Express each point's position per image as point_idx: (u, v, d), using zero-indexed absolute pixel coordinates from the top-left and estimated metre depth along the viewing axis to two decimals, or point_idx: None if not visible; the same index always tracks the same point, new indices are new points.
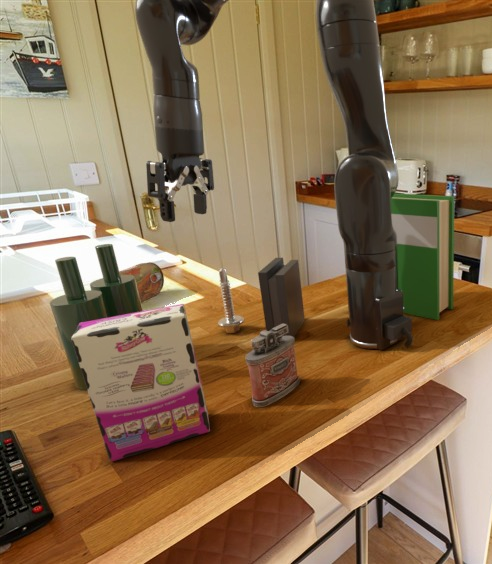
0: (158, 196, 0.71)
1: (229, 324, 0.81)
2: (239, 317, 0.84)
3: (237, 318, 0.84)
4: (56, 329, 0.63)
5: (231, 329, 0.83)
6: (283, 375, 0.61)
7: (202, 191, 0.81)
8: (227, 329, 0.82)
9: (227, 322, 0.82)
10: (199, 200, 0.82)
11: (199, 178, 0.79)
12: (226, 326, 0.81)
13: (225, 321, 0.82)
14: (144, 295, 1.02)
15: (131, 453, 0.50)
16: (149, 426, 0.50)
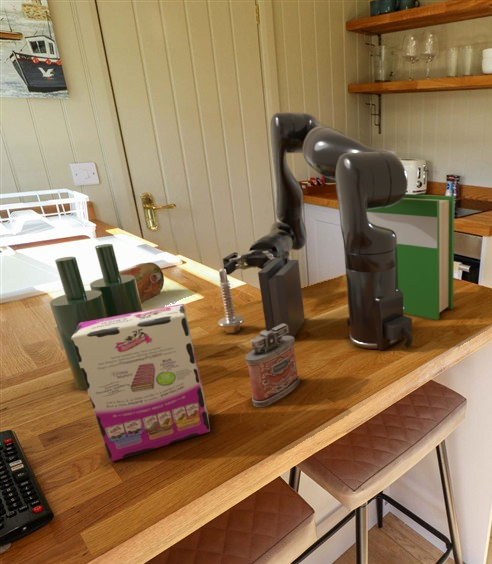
0: None
1: (229, 324, 0.81)
2: (239, 317, 0.84)
3: (237, 318, 0.84)
4: (56, 329, 0.63)
5: (231, 329, 0.83)
6: (283, 375, 0.61)
7: (270, 259, 0.95)
8: (227, 329, 0.82)
9: (227, 322, 0.82)
10: None
11: (266, 253, 0.98)
12: (226, 326, 0.81)
13: (225, 321, 0.82)
14: (144, 295, 1.02)
15: (131, 453, 0.50)
16: (149, 426, 0.50)
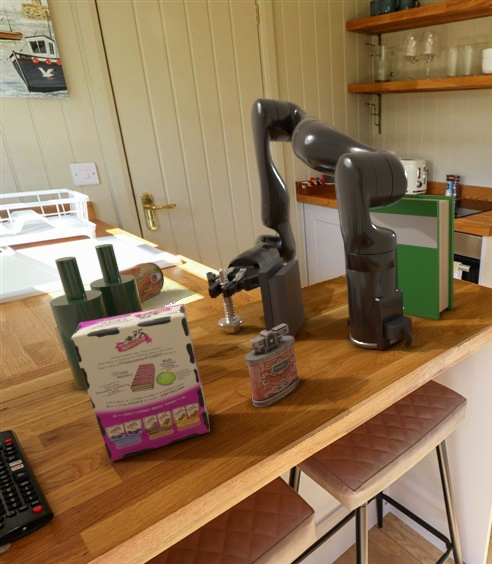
0: (208, 281, 0.83)
1: (229, 324, 0.81)
2: (239, 317, 0.84)
3: (237, 318, 0.84)
4: (56, 329, 0.63)
5: (231, 329, 0.83)
6: (283, 375, 0.61)
7: (232, 280, 0.82)
8: (227, 329, 0.82)
9: (227, 322, 0.82)
10: None
11: (240, 271, 0.85)
12: (226, 326, 0.81)
13: (225, 321, 0.82)
14: (144, 295, 1.02)
15: (131, 453, 0.50)
16: (149, 426, 0.50)
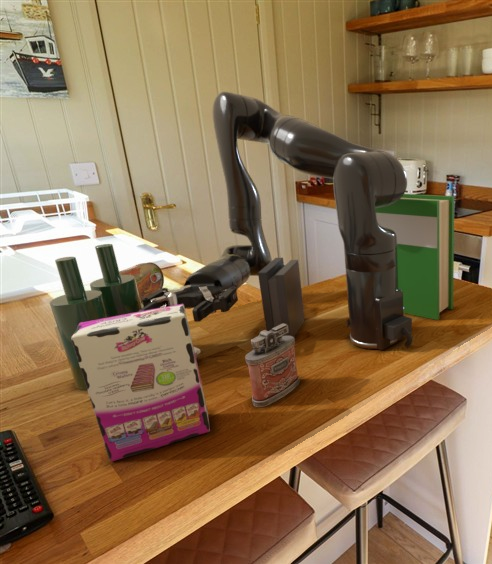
0: None
1: None
2: (194, 349, 0.71)
3: None
4: (56, 329, 0.63)
5: None
6: (283, 375, 0.61)
7: (205, 300, 0.70)
8: None
9: None
10: None
11: (203, 290, 0.72)
12: None
13: None
14: (144, 295, 1.02)
15: (131, 453, 0.50)
16: (149, 426, 0.50)
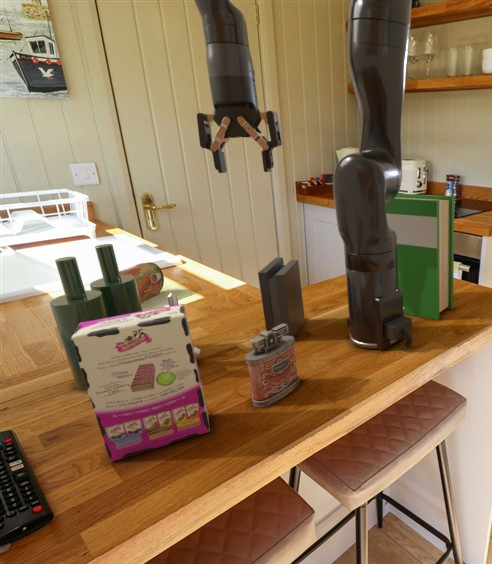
0: None
1: None
2: (194, 349, 0.71)
3: None
4: (56, 329, 0.63)
5: None
6: (283, 375, 0.61)
7: None
8: None
9: None
10: None
11: (248, 130, 0.75)
12: None
13: None
14: (144, 295, 1.02)
15: (131, 453, 0.50)
16: (149, 426, 0.50)
